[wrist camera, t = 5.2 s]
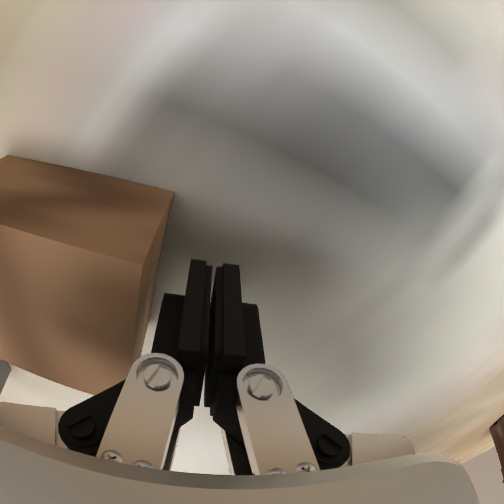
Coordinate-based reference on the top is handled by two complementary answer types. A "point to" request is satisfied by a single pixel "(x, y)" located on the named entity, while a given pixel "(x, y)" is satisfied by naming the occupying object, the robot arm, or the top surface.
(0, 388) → the board
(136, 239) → the walnut block
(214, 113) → the top surface
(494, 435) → the plant pot
